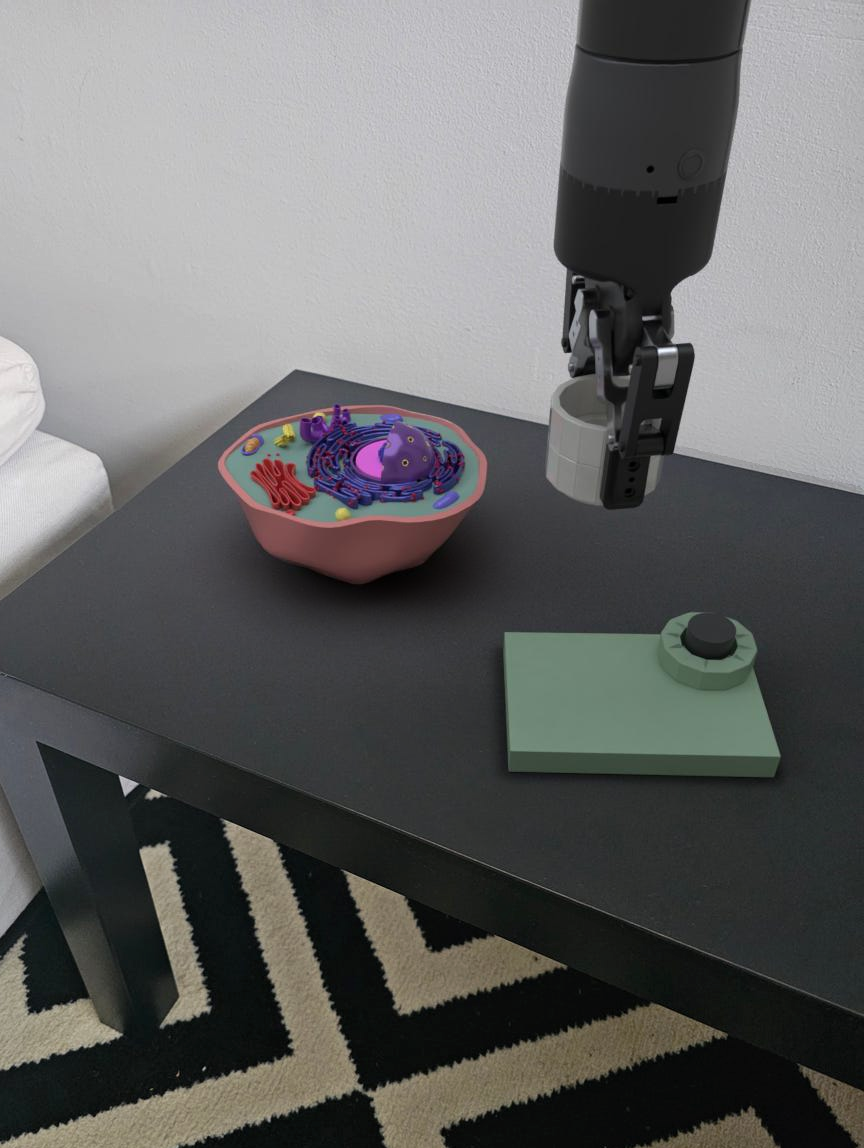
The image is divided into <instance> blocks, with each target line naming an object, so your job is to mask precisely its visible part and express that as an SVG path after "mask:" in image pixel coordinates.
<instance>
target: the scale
mask: <svg viewBox="0 0 864 1148" xmlns="http://www.w3.org/2000/svg"><path fill="white" fill-rule="evenodd" d="M700 613H710V612H698V611H697V612H694V611H690V612H687V613H684V614H681V615H679V616H676V617H673V618H671V619H669V620H668V622H667V623H666V625H665V626H664V627H663V629H662V630H661V632H660V633H600V632H599V633H598V632H596V633H595V632H594V633H593V632H592V633H591V632H529V631H528V632H527V631H526V632H524V631H522V632H520V631H512V632H511V631H505V632H504V634H503V651H502V654H503V655H502V656H503V675H504V676H503V679H504V698H505V699H504V700H505V723H506V724H505V725H506V743H507V765H508V767H507V768H508V772H509V773H511V772H512V773H514V772H515V773H550V774H553V773H554V774H557V773H558V774H600V775H602V774H603V775H642V776H643V775H644V776H645V775H648V776H685V777H687V776H688V777H689V776H690V777H691V776H694V777H730V778H731V777H733V778H734V777H738V778H775V776H776V773H777V770H778V766H779V763H780V761H781V758H782V757H781V756H782V755H781V753H780V750H779V746H778V743H777V739H776V737H775V734H774V733H775V732H774V730H773V726H772V724H771V720H770V718H769V714H768V711H767V708H766V707H767V706H766V705H765V701H764V699H763V694H762V691H761V688H760V685H759V682H758V679H757V675H756V672H755V669H754V665H755V662H756V658H757V655H758V647H757V644H756V641H755V638H754V635H753V632H751V631H749V630H748V629H747V628H746V627H745V626H744V625H742V624H741V623H740V622H739V621H738V620H736V619H734V618H731V617H727V616H725V617H726V618H728V619H729V620H731V621H732V622H733V624H734V625H735V627H736V635H735V639H734V643H733V647H732V651H731V653H730V654H729V655H728V656H727V657H726V658H724V659H721V660H706V659H703V658H700V657H697V656H695V655H692V654H691V653H690V652H689V651H688V650H687V649H686V647H685V644H684V640H685V635H686V630H687V626H688V622H689V620H690V619H691V618H692V617H693V616H694V615H697V614H700Z"/></svg>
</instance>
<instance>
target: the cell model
mask: <svg viewBox="0 0 864 1148" xmlns="http://www.w3.org/2000/svg"><path fill="white" fill-rule="evenodd" d="M217 469H218V471H219V473H220V475H221V476H222V478H223V480H224V481H225V482H226V483H227V485H228V486H229V488H230V489H231V491H232V493H233V494H234V497H235V498H236V500H237V503H238V504H239V506H240V508H241V510H242V511H243V514H244V516H245V518H246V521H247V523H248V525H249V528H250V530H251V533H252V535H253V536H254V538H255V540H256V542H257V543H258V544H259V545H260V547H261V548H262V549H263V550H264V551H265V552H266V553H267V554H269V555H271V556H272V557H273V558H276V559H278V560H279V561H281V562H284V563H287V564H290V565H294V566H297V567H301V568H305V569H308V570H311V571H313V572H315V573H317V574H319V575H323V576H325V577H328V578H333V579H335V580H338V581H342V582H345V583H347V584H351V585H357V586H361V585H366V584H369V583H372V582H374V581H376V580H377V579H380V578H382V577H384V576H386V575H389V574H394V573H397V572H401V571H405V570H409V569H412V568H416V567H418V566H421V565H423V564H424V563H426V562H427V561H428V560H429V559H430V558H431V556H432V555H433V554H434V552H436V551H437V550H438V549H439V548H441V546H443V545H444V544H445V543H446V542H447V540H448V539H449V538H450V537H451V536H452V535H453V534H454V533H455V531H456V529H457V528H458V527H459V526H460V524H461V523H462V521H463V520H464V519H465V517H466V516H467V514H468V513H469V512H470V510H472V508H473V507H474V506H475V504H476V503H477V502H478V501H479V499H480V498H481V497H482V495H483V493H484V491H485V488H486V481H487V474H488V473H487V472H488V461H487V458H486V455H485V454H484V452H483V451H482V450H481V449H480V448H479V447H478V446H477V445H476V444H475V443H474V442H473V441H472V439H471V438H470V436H469V435H467V433H466V431H465V430H464V429H463V428H461V426H459V425H458V424H455V423H454V422H452V421H450V420H447V419H445V418H442V417H438V416H435V415H430V414H425V413H421V412H417V411H416V412H415V411H411V410H408V409H404V408H400V407H398V406H397V407H396V406H392V405H384V404H373V405H372V404H371V405H369V404H368V405H364V404H363V405H346V406H342V405H341V404H339V403H335V404H333V406H332V407H327V408H322V409H321V408H320V409H316V410H312V411H307V412H302V413H299V414H295V415H290V416H286V417H281V418H278V419H272V420H270V421H267V422H263V423H261V424H260V423H259V424H258V425H256V426H254V427H252V428H251V429H249V430H248V431H247V432H245V433H244V434H243V435H242V436H240V437H239V438H238V439H237V440H236V441H235V442H234V443H232V444H231V445H230V446H229V447H228V448H227V449H226V450H225V451H223V453H222V455H221V456H220V458H219V460H218V462H217Z"/></svg>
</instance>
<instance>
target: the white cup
mask: <svg viewBox="0 0 864 1148" xmlns="http://www.w3.org/2000/svg"><path fill="white" fill-rule="evenodd" d="M613 381H614V383H615V384H616V385H617V386H619V387H628V386H629V381H630V376H620V377H617V376H613ZM625 404H626V402H625V403H624V405H623V408H622V409H623V415H624V409H625ZM549 406H550V407H549V417H548V418H549V419H548V427H547V437H546V438H547V439H546V451H545V462H544V469H545V477H546V479H547V480H548V481H549V483H550V484H551V485H552V486H553V487H554V488H555V489H556V490H557V491H558V492H560V493H563V495H564V496H566V497H568V498H570V499H571V500H574V501H575V502H576V501H577V502H579V503H582V504H585V505H591V506H596V507H597V506H598V507H604V506H603V504H602V502H601V499H600V490H601V483H602V475H603V467H604V460H605V452H606V444H607V440H606V438H607V410H606V406H605V405H604V404H602V403H601V402H599V401H598V399H597V396H596V374H590V375H585V376H580V377H575V378H570V379H568V380H566V381H563V383H560V384H558V386H557V387H556V388H555V390H554V391H553V392H552V394H551V395H550V404H549ZM661 419H662V418H661ZM641 424H644V421H643V422H642V423H641ZM664 459H665V456H661V455H657V456H651V458H650V464H649V470H648V476H647V482H646V489H645V495H644V497H646V496H647V495H649V494H650V493H652V492H653V491H655V490H656V488H657V486H658V484H659V483H660V480H661V477H662V470H663V465H664Z"/></svg>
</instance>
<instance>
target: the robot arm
mask: <svg viewBox="0 0 864 1148" xmlns="http://www.w3.org/2000/svg"><path fill="white" fill-rule="evenodd" d="M751 4H752V0H578V13H577V22H576V23H577V24H576V36H575V46H574V53H573V61H572V66H571V70H570V76H569V81H568V85H567V90H566V94H565V101H564V102H565V103H564V109H563V110H564V111H563V121H562V134H561V135H562V136H561V150H560V161H559V171H558V173H559V174H558V185H557V196H556V197H557V198H556V209H555V222H554V232H553V233H554V234H553V252H554V255H555V257H556V259H557V261H558V262H559V263H560V264H561V265H562V266H563V267H564V268H565V269H566V275H565V289H564V307H563V321H562V337H561V340H560V345H561V348H562V351H563V353H564V354H570V356H569V360H568V363H567V371H568V374H569V377H570V379H572V378H575V377H580V376H585V375H590V374H596V396H597V399H598V401H599V402H601V403H602V404H604V405H605V406H606V410H607V438H606V440H607V444H606V452H605V460H604V467H603V475H602V483H601V490H600V499H601V502H602V504H603V506H602V507H604V508H605V510H608V511H614V510H625V509H626V510H627V509H635V508H638V507H640V506H641V505H642V504H643V502H644V499H645V496H644V495H645V489H646V482H647V476H648V470H649V464H650V458H651V456H657V455H661V456H664V457H666V456H672V455H673V454H674V452H675V448H676V444H677V441H678V440H677V439H678V435H679V430H680V425H681V422H682V418H683V414H684V409H685V404H686V400H687V395H688V390H689V386H690V382H691V378H692V373H693V369H694V365H695V359H696V353H695V347H694V345H693V344H692V343H691V342H683V343H674V342H673V341H672V339H673V338H674V336H675V310H674V306H673V305H672V303H673V302H672V300H673V297H672V292H673V291H674V289H675V288H676V287H677V286H678V285H679V284H681V282H683V281H684V280H686V279H688V278H689V277H693V276H694V275H697V274H698V273H700V272H701V271H702V270H704V268H705V267H706V266H707V265H708V264H709V262H710V260H711V258H712V256H713V251H714V244H715V239H716V234H717V228H718V223H719V218H720V211H721V207H722V200H723V195H724V191H725V185H726V179H727V174H728V169H729V162H730V156H731V152H732V151H731V150H732V146H733V141H734V135H735V129H736V124H737V118H738V111H739V103H740V93H741V92H740V91H741V73H742V72H741V71H742V59H743V51H744V47H743V46H744V44H745V40H746V34H747V28H748V22H749V17H750V13H751V12H750V10H751ZM613 376H617V377H620V376H630V381H629V386H628V387H619V386H617V385H616V384H615V383H614V381H613ZM625 402H626V404H625V409H624V415H623V409H622V408H623V405H624V403H625ZM661 418H662V419H661ZM643 421H644V424H641V423H642V422H643Z"/></svg>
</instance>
